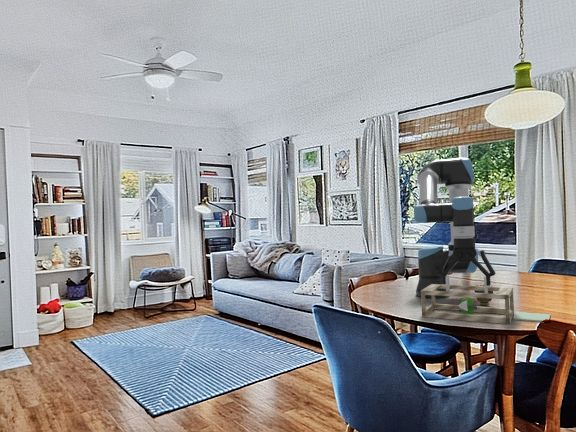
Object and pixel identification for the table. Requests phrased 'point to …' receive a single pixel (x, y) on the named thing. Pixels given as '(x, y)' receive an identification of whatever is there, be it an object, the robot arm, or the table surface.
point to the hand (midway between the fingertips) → (466, 293)
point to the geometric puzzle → (467, 306)
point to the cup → (484, 300)
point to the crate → (501, 294)
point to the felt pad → (530, 316)
